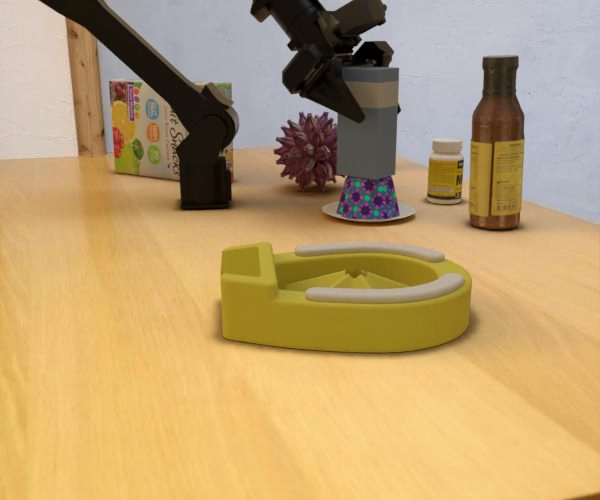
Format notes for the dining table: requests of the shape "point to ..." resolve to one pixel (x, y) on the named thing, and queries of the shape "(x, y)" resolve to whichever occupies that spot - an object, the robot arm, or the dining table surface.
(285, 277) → the yellow curved tray
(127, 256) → the dining table surface
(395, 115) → the block
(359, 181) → the pudding
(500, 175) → the sauce bottle
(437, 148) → the supplement bottle
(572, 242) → the dining table surface
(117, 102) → the snack box
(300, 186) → the flower
